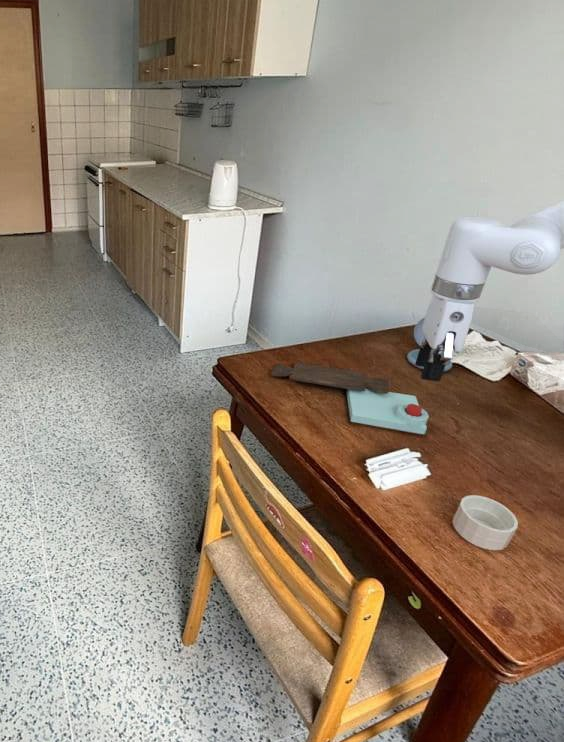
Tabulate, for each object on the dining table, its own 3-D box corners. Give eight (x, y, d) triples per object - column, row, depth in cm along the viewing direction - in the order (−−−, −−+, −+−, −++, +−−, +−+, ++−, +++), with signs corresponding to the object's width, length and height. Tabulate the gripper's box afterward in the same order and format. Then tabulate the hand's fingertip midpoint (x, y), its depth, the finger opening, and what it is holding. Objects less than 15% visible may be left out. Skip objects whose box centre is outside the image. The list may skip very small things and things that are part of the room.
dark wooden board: (276, 365, 124) (269, 379, 116) (277, 359, 124) (269, 372, 115) (388, 380, 113) (389, 397, 104) (389, 374, 112) (390, 390, 104)
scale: (414, 403, 107) (418, 390, 106) (426, 435, 97) (431, 422, 96) (346, 392, 112) (349, 379, 110) (350, 422, 102) (354, 409, 100)
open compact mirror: (463, 318, 121) (466, 342, 110) (450, 355, 126) (451, 381, 115) (418, 310, 126) (417, 332, 114) (407, 346, 131) (404, 371, 119)
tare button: (418, 411, 100) (420, 405, 99) (420, 418, 97) (423, 412, 97) (404, 408, 100) (406, 402, 100) (406, 415, 98) (408, 409, 97)
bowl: (497, 521, 78) (508, 501, 76) (513, 558, 72) (525, 537, 70) (446, 510, 80) (455, 490, 78) (458, 545, 74) (468, 524, 72)
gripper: (496, 307, 77) (460, 399, 86) (467, 274, 91) (438, 355, 100) (444, 302, 80) (413, 392, 88) (423, 270, 94) (398, 350, 102)
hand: (427, 371), depth 94 cm, fingers open, 4 cm apart
